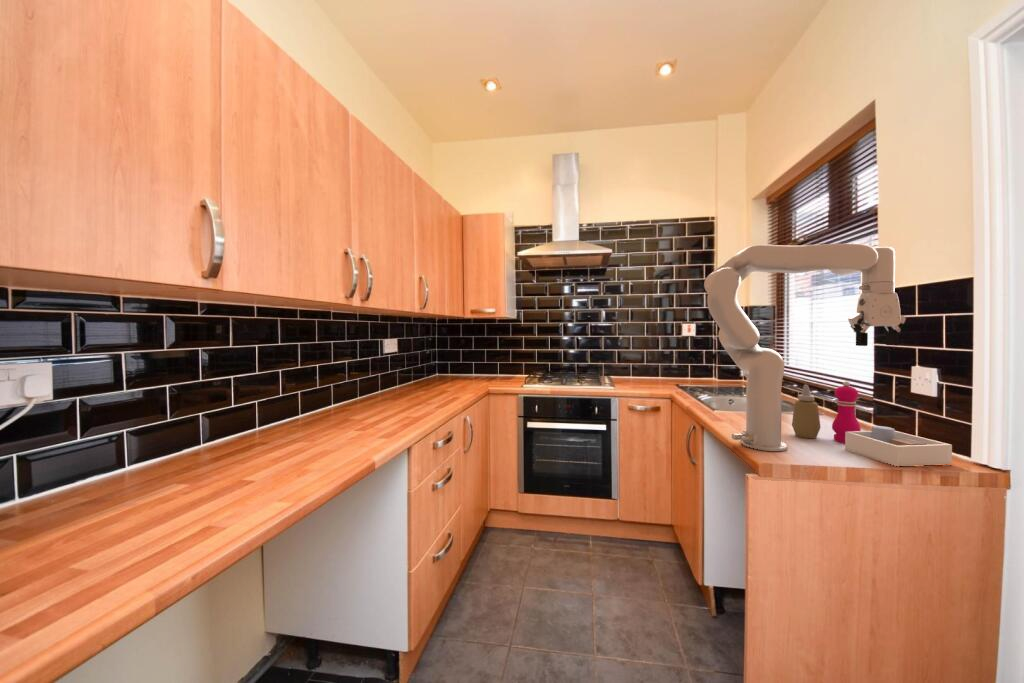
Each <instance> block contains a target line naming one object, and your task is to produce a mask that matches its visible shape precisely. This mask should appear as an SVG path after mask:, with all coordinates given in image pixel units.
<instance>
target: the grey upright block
mask: <svg viewBox="0 0 1024 683" xmlns="http://www.w3.org/2000/svg"><path fill="white" fill-rule="evenodd" d="M871 431H872V439H876V440H879V441H883V442H886V443H890V444H891V439H895V431H896V430H895V428H893V427H889V426H882V425H872V426H871Z"/></svg>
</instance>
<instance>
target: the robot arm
mask: <svg viewBox="0 0 1024 683" xmlns="http://www.w3.org/2000/svg"><path fill="white" fill-rule="evenodd" d="M895 250H896V249H894V248H893V247H890V246H879V247H873V246H871V245H868V244H865V243H864V244H862V243H861V244H860V243H826V244H806V245H787V244H786V245H785V244H784V245H783V244H782V245H778V244H754V245H750V246H748V247H746V248H743V249H742V250H740V251H738V252H737V253H736V254H735V255H733V256H732V257H731V258H730V259H728V260H727V261H726V262H724V263H723V264H721V265H720V266H719V267H717V269H715V270H713V271H712V272H711V273H709V274H708V275H707V277H706V278H705V279H704V282H703V283H704V284H703V288H704V289H705V290H704V291H705V292H706V293H707V300H706V301H707V309H708V311H709V313H710V315H711V317H712V318H713V320H714V321H715V323H716V325H717V326H718V328H719V331H718V339H719V342H720V344H721V346H722V347H723V349H724V350H725V351H726V353H727V354H728V355H729V357H730V358H731V359H732V361H733V362H734V363H735V365H736V366H737V367H738V369H739V370H740V371H742V372H744V374H747V375H748V376H747V381H746V385H745V386H746V387H745V397H746V400H745V404H746V406H745V409H746V411H745V413H746V414H745V415H746V416H745V418H746V420H745V422H746V423H745V426H746V428H745V429H743V430H742V432H741V433H731V439H732V440H733V441H737V440H740V444H741V445H742V444H743V446H744V447H746V446H747V447H746V448H749V447H750V448H749V449H753V448H754V450H757V449H758V451H765V452H784V451H786V450H787V449H788V444H787V443H785V442H784V441H782V384H783V378H784V373H785V362H784V359H783V357H782V355H781V354H780V353H778V352H777V351H775V350H773V349H772V348H766V347H761V346H760V345H759V344H758V343H759V342H760V338H761V337H760V336H761V334H760V332H759V329H758V328H757V327H756V325H754V323H753V322H752V321H751V320H750V317H748V315H747V314H746V312H745V311H744V310H743V308H742V307H741V305H740V304H739V301H738V297H737V294H738V290H739V288H740V285H741V282H743V281H745V279H746V278H747V277H749V276H751V275H752V274H753V273H778V274H779V273H780V274H781V273H783V274H804V273H809V272H815V271H821V270H822V271H823V270H825V271H826V270H828V271H829V272H830V273H831V274H835V275H840V276H843V275H849V274H850V275H851V274H857V273H858V274H860V286H859V288H858V289H859V290H860V294H859V295H858V300H857V303H856V305H857V306H856V311H855V313H856V314H854V315H852V316H851V317H849V318H848V319H847V320H848V323H849V325H850V328H851V329H852V330H853V332H854V334H855V346H857V347H866V346H868V341H869V338H868V336H869V335H868V332H867V331H868V329H869V328H870V327H884V328H885V330H886V331H885V345H886V346H898V345H899V333H900V332H901V329H902V328H903V327H904V324H905V323H906V320H907V318H906V317H905V316H904V315H902V314H901V307H900V306H901V304H900V300H899V296H898V293H897V292H895V288H896V286H895V282H896V279H895V276H896V274H895V273H896V271H895V270H896V251H895Z"/></svg>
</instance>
